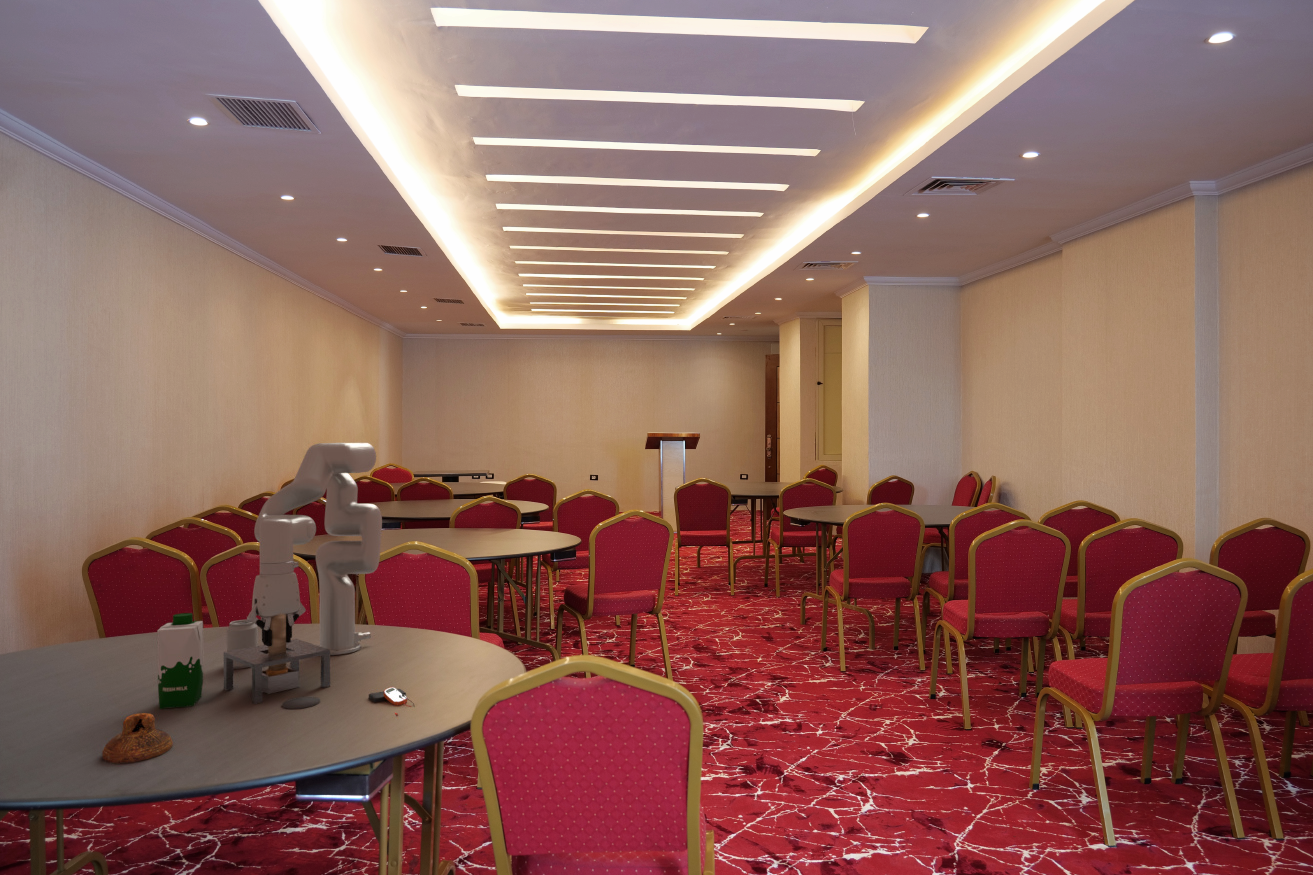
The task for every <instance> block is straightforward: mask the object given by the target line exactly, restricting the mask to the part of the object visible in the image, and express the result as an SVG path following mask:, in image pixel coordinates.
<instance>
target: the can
mask: <svg viewBox="0 0 1313 875" xmlns="http://www.w3.org/2000/svg"><path fill="white" fill-rule="evenodd" d="M228 625H229V626H228V627H227V628H226V652H227V651H232V650H238V649H243V648H249V647H254V646H259V645H258V644H259V643H258V635H259V634H258V630H259V628H258V627H259V626H257V625H256V624H255V623H253V622H251V621H249V620H247V619H239V620H233V621H231V622H229V624H228ZM247 668H250V667H249V666H247V665H244V664H242V663H239V662H237V661H234V660H233V670H234V669H236V670H238V669H239V670H241V669H247Z"/></svg>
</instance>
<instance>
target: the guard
mask: <svg viewBox="0 0 1313 875" xmlns="http://www.w3.org/2000/svg"><path fill="white" fill-rule="evenodd" d="M316 657H320V687H321V688H323V689H325V688H329V687H331V655H330V650H329V649H326V648H323V647H320V646H318V645H317V644H314V643H310V642H308V641H305V640H302V639H298V638H293V639H291V642H290V643H287V642H286V652H284V653H279V654H274V655H268V646H266V645H264V644H260V645H258V646H254V647H249V648H243V649H238V650H232V651H227V650H226V651H223V690H225V691H229V690H233V689H234V669H233V660H234V661H237V662H239V663H242V664H244V665H247V666H249V667H248V668H251V693H252V694H251V697H252V698H251V700H252V704H255V705H256V704H261V703H263V693H264V694H265V693H266V694H267V695H270V694H275V693H279V692H284V691H287V690H293V689H296V688H299V687H300V661H301V660H306V659H311V658H316ZM282 663H286V664H287V663H290V666H288V665H286V667H288V672H287V673H282V674H278V675H273V676H269V675H266V670H267V669H263V668H266V667H267V668H268V666H272V665H277V664H282Z"/></svg>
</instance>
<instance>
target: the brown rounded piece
mask: <svg viewBox="0 0 1313 875" xmlns="http://www.w3.org/2000/svg"><path fill="white" fill-rule="evenodd" d="M155 723H156V718H155V716H154V714H152V713H148V712H147V713H145V712H141V713H133V714H131V715H129V716H127V717H126V718H125V719H124V721H122V730H121V732H120V733H118V734H116V735H114V737H112V738H111V739H110V740H108V742H107V743H106V744H105V745H104V748H103V749H102V753H101V755H102V756H101V757H102V760H103V761H105V762H107V763H110V762H111V764H123V763H124V762H125V763H128V762H129V763H135V762H141V761H144V760H149V759H152V758H155V757H159V756H160V755H163V754H165V753H166V752H168V751H170V750H171V748H172V747H173V744H174V742H173V739H172V737H171V735H170V734H168V732H166V731H163V730H162V729H158V728H156V724H155Z"/></svg>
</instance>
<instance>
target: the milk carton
mask: <svg viewBox="0 0 1313 875" xmlns="http://www.w3.org/2000/svg"><path fill="white" fill-rule="evenodd" d="M193 616H194V615H193V613H192V612H182V613H176V614H173V615H172V622H167V623H165V624H164V625H162V626H160V627H159V629H157V688H158V689H157V690H158V705H159V710H161V709H171V708H172V709H173V708H184V707H194V706H195V705H196V703H198V701H199V700H200V699H202V696H203V695H202V694H203V683H204V622H203V620H198V621H197V620H194V621H193Z"/></svg>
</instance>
